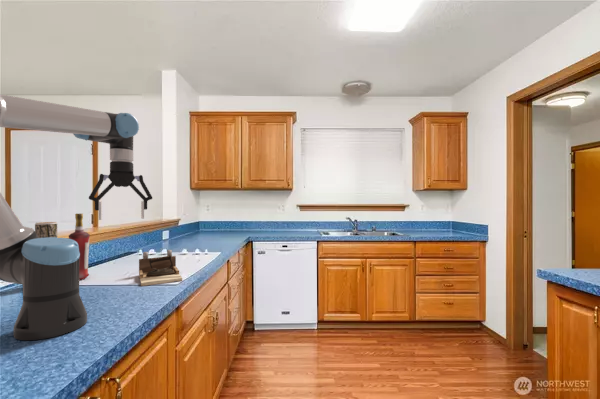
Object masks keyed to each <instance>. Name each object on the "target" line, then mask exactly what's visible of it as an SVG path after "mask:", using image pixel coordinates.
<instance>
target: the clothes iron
mask: <svg viewBox="0 0 600 399" xmlns="http://www.w3.org/2000/svg"><path fill="white" fill-rule="evenodd" d="M158 257H159V258H157V257H149V258H150V259H149V262H150V266H151V268H152V265H151V263H153V262H158V261H164V260H170V261H171V255H169V256H167V255H165V256H158ZM151 258H152V259H151ZM172 266H173V264H172V261H171V266H169V267H168V268H164V269H158V270H157V269H156V268H152V269H153V270H154V271H150V272H148V273H147V274H146V276H147V277H152V276H165V275H172V274H175V272H174V271H173V270H172V269H170V268H171V267H172Z"/></svg>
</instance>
